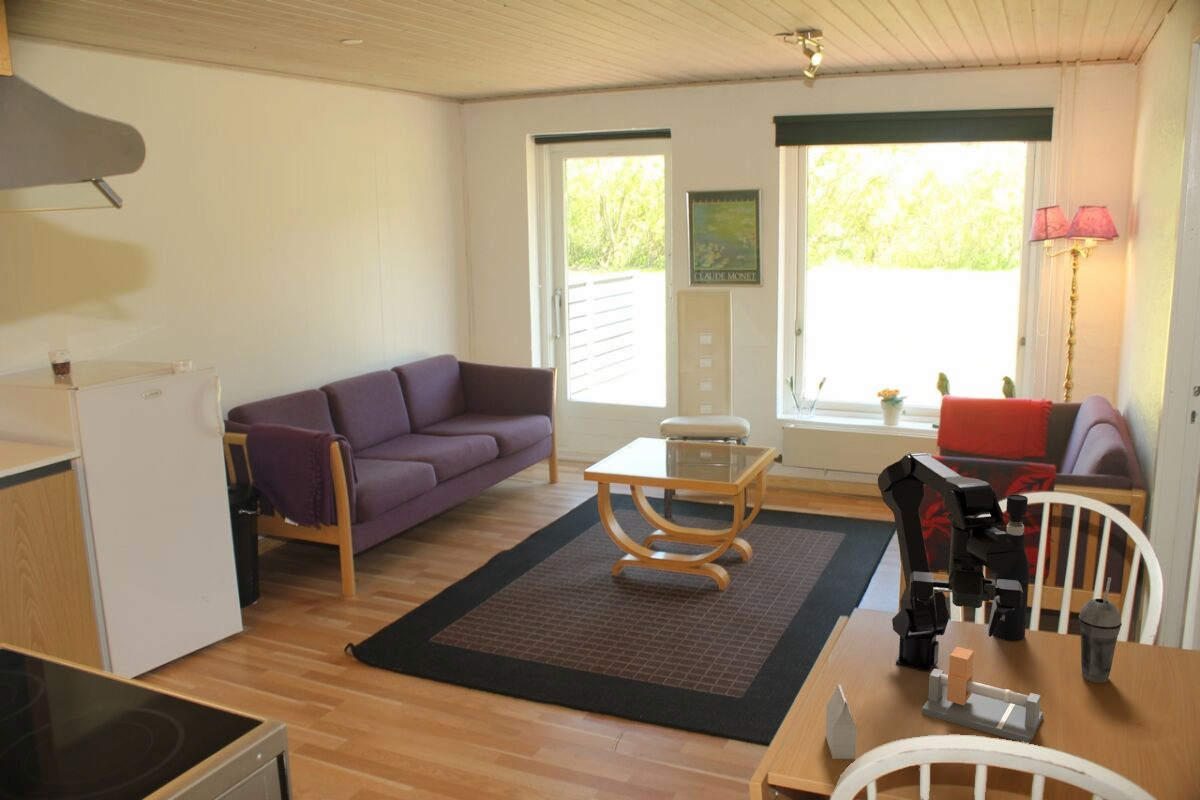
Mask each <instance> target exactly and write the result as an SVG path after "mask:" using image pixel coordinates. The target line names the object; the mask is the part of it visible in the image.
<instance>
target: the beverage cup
mask: <svg viewBox="0 0 1200 800" xmlns="http://www.w3.org/2000/svg"><path fill="white" fill-rule="evenodd" d="M1111 582H1112V577H1110V576H1109V577H1107V582H1106V585H1105V586H1106V588H1105V592H1104V596H1103V598H1093V599H1090V600H1089V601H1087V602H1085V603H1084V605H1082V607H1081V608H1080V611H1079V615H1078V620H1079V627H1080V653H1081V655H1080V661H1081V676H1082V677H1083V679H1085V680H1087V681H1089V682H1092V683H1097V682H1101V683H1106V681H1107V682H1108V681H1109V678H1110V674H1111V670H1112V665H1113V661H1114V660H1113V659H1114V655H1115V651H1116V645H1117V641H1118V635H1119V634H1120V630H1121V627H1122V617H1121V613H1120V611H1119V609H1118V607H1117V606H1116V605H1115V604H1114V603H1113V602H1112V601H1109V600H1108V596H1109V592H1110V587H1111ZM1101 683H1100V684H1101Z"/></svg>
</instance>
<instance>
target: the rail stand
mask: <svg viewBox="0 0 1200 800" xmlns="http://www.w3.org/2000/svg"><path fill="white" fill-rule="evenodd" d="M947 686H948V674H945V673H944V670H942V669H938V668H934V669H932V671H931V672H930V674H929V680H928V699H927V701H926V702H925V703H924V705H923V706H922V707H921V714H922V715H925V716H927V717H928V716H929V717H931V718H936V719H939V720H941V721H946V722H949V723H953V724H956V725H960V726H963V727H967V728H970V729H974V730H977V731H981V732H985V733H987V734H991V735H994V736H995V735H996V736H998V737H1002V738H1005V739H1009V740H1012V741H1016V740H1017V741H1016V742H1019V741H1024V742H1028V743H1030V744H1031V742H1032V740H1033V739H1034V736H1035V734H1036V733H1037V731H1038V728H1039V726H1040V724H1041V722H1042V720H1043V716H1044V712H1043V711H1041V710H1040V707H1041V695H1040V694H1037V693H1033V692H1030V693H1029V694H1022V693H1018V692H1014V691H1012V690H1011V689H1009V688H1007V689H1006V688H1005V689H1003V688H999V687H996V686H992V685H987V684H984V683H980V682H977V681H969V680H968V681H967V688H966V692H970V693H972V694H971V695H970V697H969V698H968V700H967V702H966V703H965V705H961V704H958V703H954V702H950V701H947Z"/></svg>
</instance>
